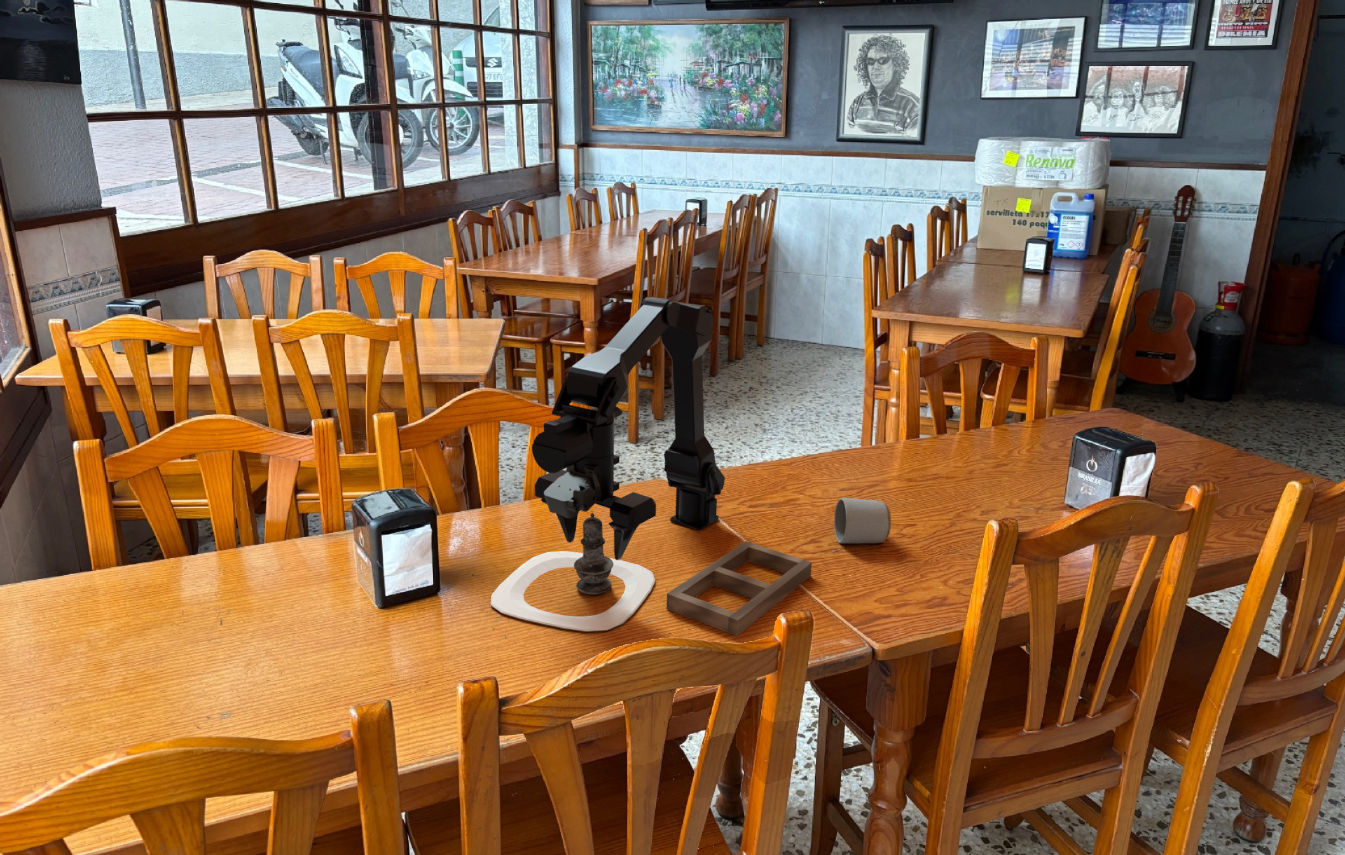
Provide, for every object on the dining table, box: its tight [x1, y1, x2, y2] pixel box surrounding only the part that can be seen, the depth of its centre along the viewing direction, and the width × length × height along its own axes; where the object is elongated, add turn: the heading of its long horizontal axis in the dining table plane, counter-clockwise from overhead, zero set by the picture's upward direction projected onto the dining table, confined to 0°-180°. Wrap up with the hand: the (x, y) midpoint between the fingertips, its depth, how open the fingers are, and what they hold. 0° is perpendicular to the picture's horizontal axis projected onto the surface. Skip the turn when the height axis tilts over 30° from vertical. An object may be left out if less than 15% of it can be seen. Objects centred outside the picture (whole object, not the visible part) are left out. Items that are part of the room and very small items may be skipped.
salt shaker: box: [573, 512, 613, 595], centre depth 136 cm, size 6×6×12 cm
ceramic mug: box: [833, 497, 892, 544], centre depth 157 cm, size 11×8×8 cm
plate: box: [490, 550, 656, 633], centre depth 138 cm, size 22×22×2 cm
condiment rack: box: [665, 541, 813, 637], centre depth 138 cm, size 12×22×2 cm, turn 145°
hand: (593, 550), depth 136 cm, fingers open, 9 cm apart
